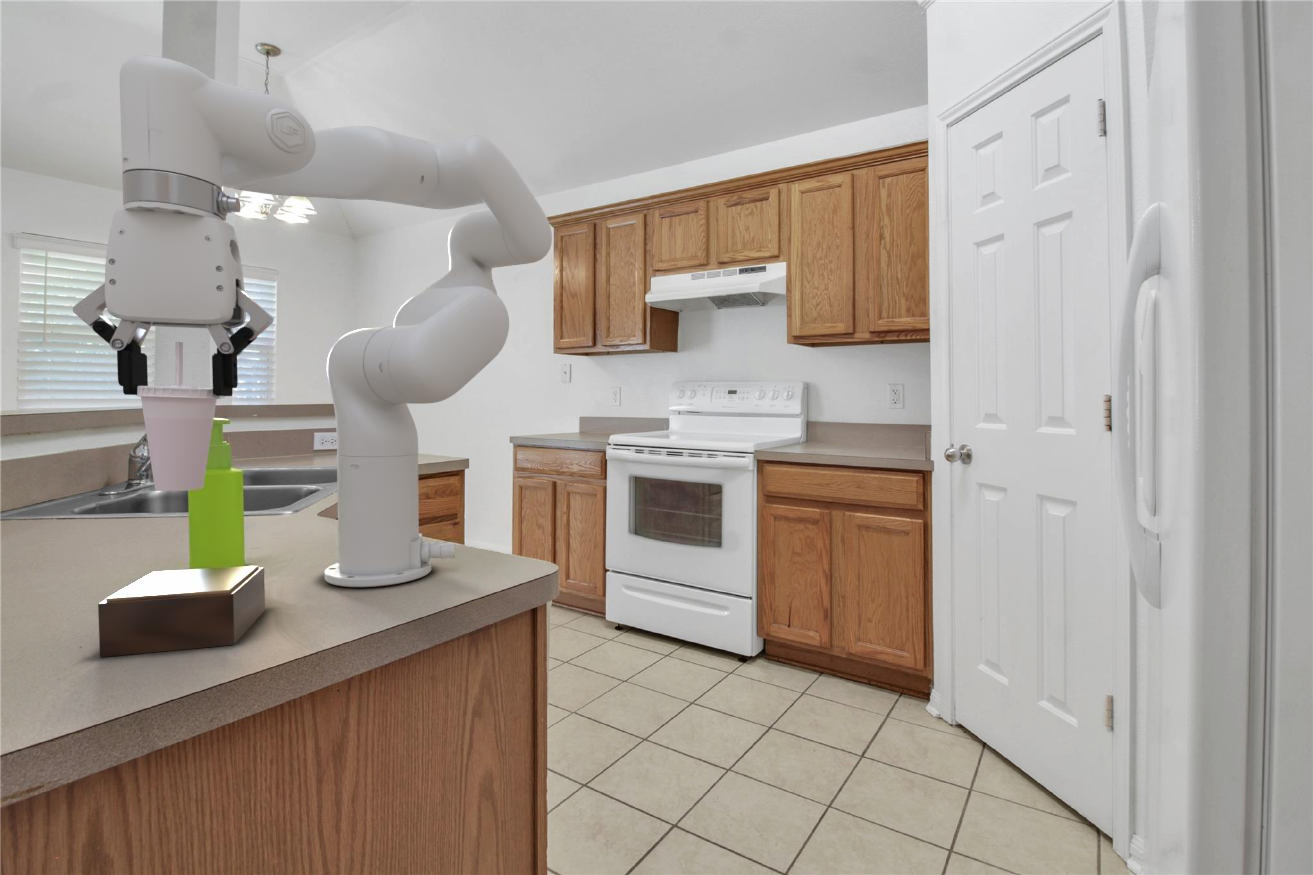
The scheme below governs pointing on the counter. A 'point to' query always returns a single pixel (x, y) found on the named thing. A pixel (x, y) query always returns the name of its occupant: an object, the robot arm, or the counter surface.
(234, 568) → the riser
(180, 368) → the smoothie
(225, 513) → the soap dispenser
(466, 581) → the counter surface
